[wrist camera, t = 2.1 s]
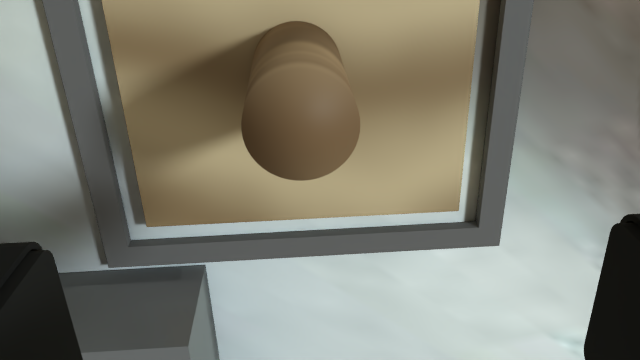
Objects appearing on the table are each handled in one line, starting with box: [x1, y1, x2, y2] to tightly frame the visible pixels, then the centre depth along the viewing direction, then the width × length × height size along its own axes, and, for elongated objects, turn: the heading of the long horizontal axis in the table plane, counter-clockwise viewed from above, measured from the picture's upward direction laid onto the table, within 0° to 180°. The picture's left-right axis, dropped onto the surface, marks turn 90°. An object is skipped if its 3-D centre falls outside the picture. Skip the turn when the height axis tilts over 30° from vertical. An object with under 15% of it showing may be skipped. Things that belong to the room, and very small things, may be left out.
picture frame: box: [42, 0, 534, 268], centre depth 21 cm, size 17×17×1 cm
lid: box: [102, 0, 480, 227], centre depth 18 cm, size 13×13×7 cm
